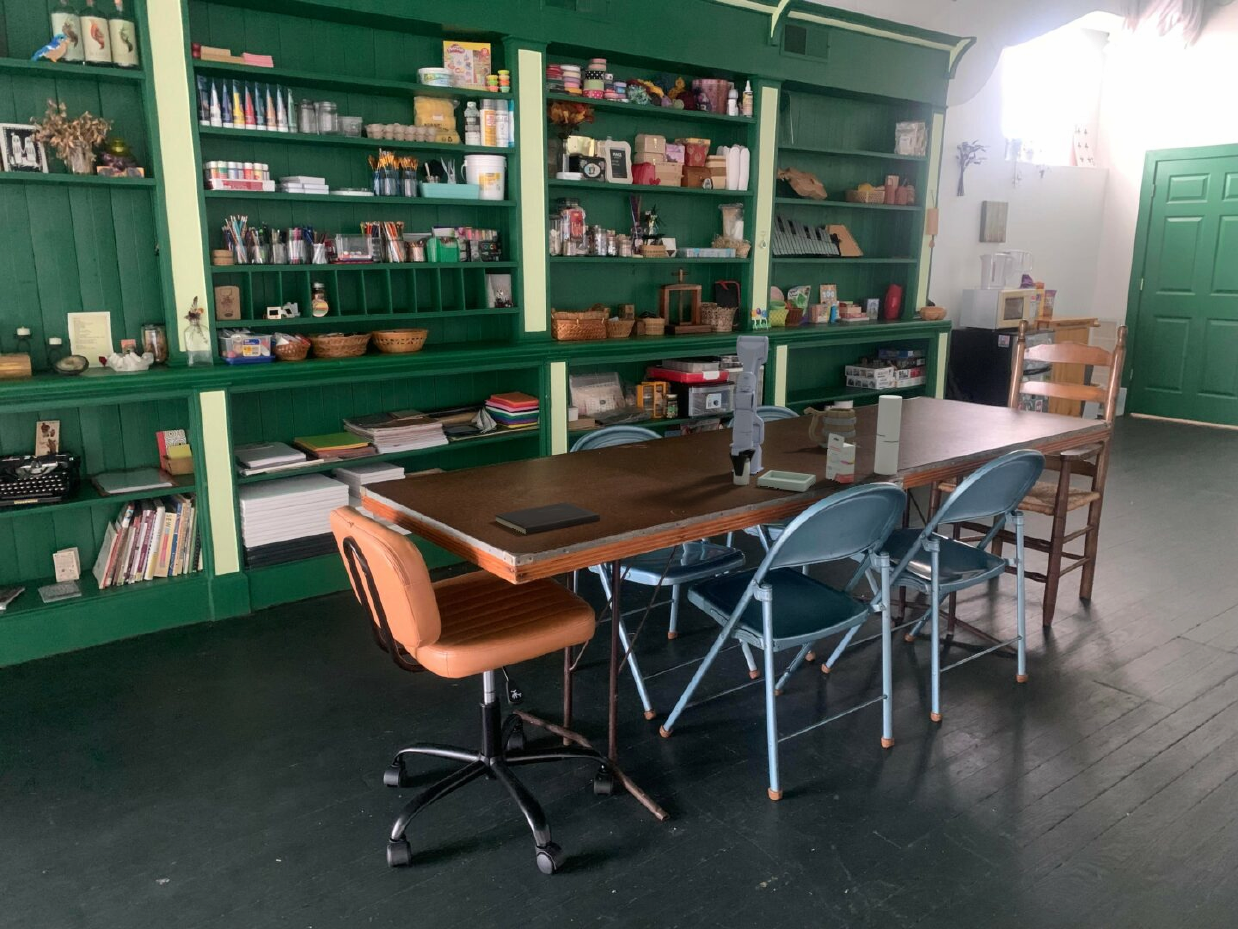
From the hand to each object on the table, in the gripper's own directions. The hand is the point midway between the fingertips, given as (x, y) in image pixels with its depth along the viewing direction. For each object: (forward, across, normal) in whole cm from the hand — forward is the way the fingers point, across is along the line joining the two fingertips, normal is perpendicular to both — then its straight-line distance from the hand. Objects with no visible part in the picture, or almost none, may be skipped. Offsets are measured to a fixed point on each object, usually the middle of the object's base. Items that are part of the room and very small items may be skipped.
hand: (741, 474), depth 290 cm
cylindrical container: (+3, -37, +37) cm, 52 cm away
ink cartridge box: (+3, -19, +26) cm, 32 cm away
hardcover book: (+4, +65, -31) cm, 72 cm away
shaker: (+3, 0, 0) cm, 3 cm away
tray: (+3, -5, +13) cm, 14 cm away
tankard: (+3, -71, +9) cm, 72 cm away
